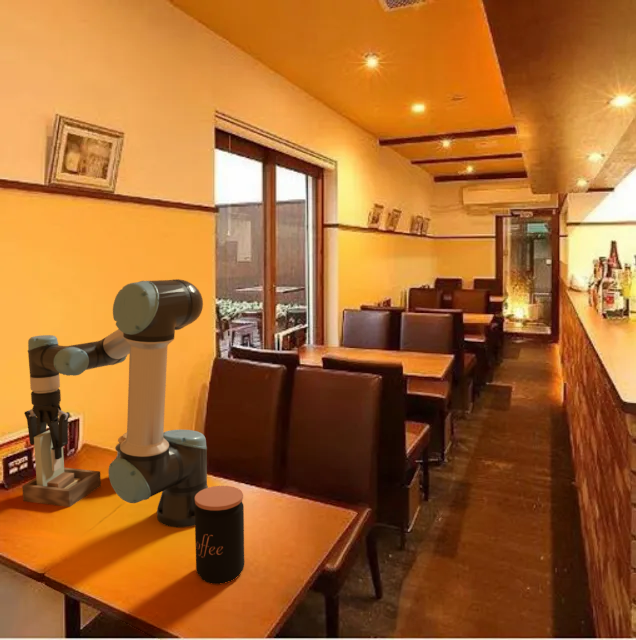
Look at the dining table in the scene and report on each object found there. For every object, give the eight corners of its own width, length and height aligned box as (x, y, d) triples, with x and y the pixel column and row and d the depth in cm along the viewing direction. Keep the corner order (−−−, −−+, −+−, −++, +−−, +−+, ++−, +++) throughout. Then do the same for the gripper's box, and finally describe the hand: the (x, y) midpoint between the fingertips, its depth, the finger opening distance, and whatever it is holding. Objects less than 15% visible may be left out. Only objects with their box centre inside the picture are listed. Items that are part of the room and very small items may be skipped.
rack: (101, 490, 165) (100, 471, 164) (70, 512, 152) (68, 491, 151) (57, 485, 169) (56, 466, 168) (23, 506, 155) (22, 485, 154)
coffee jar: (187, 571, 124) (184, 495, 122) (226, 553, 131) (225, 481, 129) (213, 592, 117) (212, 511, 114) (254, 572, 124) (253, 495, 122)
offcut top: (74, 481, 162) (73, 473, 162) (58, 492, 155) (58, 483, 155) (63, 480, 163) (63, 472, 162) (47, 491, 155) (47, 482, 155)
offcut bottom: (80, 486, 164) (80, 478, 164) (57, 501, 155) (57, 493, 154) (69, 485, 165) (68, 477, 165) (45, 499, 156) (44, 491, 155)
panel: (65, 485, 165) (61, 427, 163) (43, 498, 156) (39, 437, 154) (59, 485, 165) (55, 427, 163) (37, 498, 157) (33, 437, 154)
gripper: (79, 388, 159) (83, 466, 162) (30, 384, 162) (35, 461, 165) (61, 395, 151) (66, 476, 154) (11, 391, 155) (16, 470, 158)
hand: (50, 468), depth 160 cm, fingers open, 3 cm apart
